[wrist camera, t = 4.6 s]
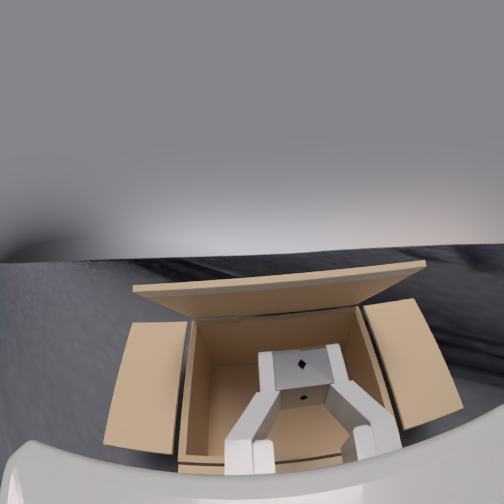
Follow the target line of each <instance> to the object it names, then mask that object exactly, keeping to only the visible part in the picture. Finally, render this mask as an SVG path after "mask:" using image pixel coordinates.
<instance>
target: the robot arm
mask: <svg viewBox="0 0 504 504" xmlns="http://www.w3.org/2000/svg"><path fill="white" fill-rule="evenodd" d="M258 365H259V382H260V392H256V393H255V395H254V397H253V398H252V400H251V401H250V403H249V404H248V406H247V408H246V409H245V411H244V412H243V414H242V415H241V417H240V418H239V420H238V421H237V423H236V424H235V426H234V427H233V429H232V430H231V432H230V433H229V435H228V436H227V438H226V439H225V466H224V475H205V474H187V473H175V472H166V471H157V470H150V469H143V468H137V467H131V466H125V465H120V464H115V463H110V462H106V461H102V460H97V459H93V458H89V457H86V456H82V455H78V454H75V453H71V452H68V451H65V450H62V449H59V448H56V447H53V446H50V445H47V444H44V443H41V442H39V441H36V440H29V441H28V442H26V443H25V444H23V445H22V446H21V447H20V448H19V449H18V450H17V451H15V452H14V453H13V454H12V455H11V456H10V458H9V460H8V462H7V464H6V467H5V470H4V474H3V478H2V483H1V488H0V504H504V403H503V404H501V405H500V406H498V407H496V408H494V409H492V410H491V411H489V412H487V413H485V414H483V415H481V416H479V417H477V418H475V419H473V420H471V421H469V422H467V423H465V424H463V425H460V426H458V427H456V428H454V429H452V430H449V431H447V432H444V433H442V434H440V435H437V436H435V437H432V438H429V439H427V440H424V441H421V442H419V443H416V444H413V445H410V446H407V447H404V448H402V445H401V441H400V437H399V433H398V429H397V426H396V422H395V418H394V416H393V415H391V414H390V413H389V412H388V411H387V410H386V409H385V408H383V407H382V406H381V405H380V404H379V403H378V402H377V401H376V400H374V399H373V398H372V397H371V396H370V395H369V394H368V393H366V392H365V391H364V390H363V389H362V388H361V387H360V386H359V385H358V384H356V383H355V382H354V381H353V380H351V381H349V378H348V374H347V371H346V367H345V363H344V359H343V356H342V352H341V348H340V346H339V344H338V343H336V344H329V345H321V346H314V347H307V348H299V349H292V350H282V351H268V352H258ZM323 404H324V406H325V407H326V408H327V409H328V411H329V412H330V413H331V414H332V415H333V416H334V417H335V419H336V420H337V421H338V422H339V423H340V424H341V425H342V426H343V427H344V429H345V430H346V431H347V432H348V433H349V434H350V435H349V437H348V438H347V439H346V441H345V442H344V443H343V445H342V446H341V447H340V449H341V455H342V461H343V464H338V465H333V466H327V467H321V468H315V469H308V470H300V471H292V472H282V473H276V471H275V460H274V449H273V442H272V441H270V440H269V439H267V440H265V439H266V437H267V435H268V434H269V432H270V430H271V428H272V426H273V424H274V423H275V421H276V419H277V417H278V415H279V413H280V411H281V410H283V409H291V408H298V407H306V406H315V405H323Z"/></svg>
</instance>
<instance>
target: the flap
mask: <svg viewBox="0 0 504 504" xmlns="http://www.w3.org/2000/svg"><path fill="white" fill-rule="evenodd" d="M425 267H426V262H425V260H422V261H413V262H405V263H396V264H387V265H378V266H369V267H359V268H350V269H340V270H330V271H319V272H309V273H298V274H286V275H275V276H263V277H251V278H238V279H225V280H211V281H197V282H182V283H166V284H149V285H133V292H134V293H135V294H138V295H140V296H142V297H145V298H147V299H150V300H152V301H154V302H156V303H159V304H161V305H163V306H165V307H168V308H170V309H172V310H175V311H177V312H179V313H182V314H184V315H187V316H189V317H192V318H194V319H198V318H217V317H234V316H248V315H261V314H273V313H284V312H295V311H305V310H314V309H323V308H331V307H340V306H348V305H355V304H358V303H360V302H362V301H364V300H366V299H368V298H370V297H371V296H373V295H375V294H377V293H379V292H381V291H383V290H385V289H387V288H388V287H390V286H392V285H394V284H396V283H398V282H399V281H401V280H403V279H405V278H407V277H408V276H410V275H412V274H414V273H416V272H418V271H420V270H421V269H423V268H425Z"/></svg>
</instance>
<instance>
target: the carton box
mask: <svg viewBox="0 0 504 504" xmlns="http://www.w3.org/2000/svg"><path fill="white" fill-rule="evenodd" d="M363 310H364V312H365V315H366V318H367V320H368V323H369V326H370V328H371V331H372V334H373V336H374V339H375V342H376V345H377V348H378V351H379V353H380V356H381V359H382V362H383V365H384V368H385V371H386V374H387V377H388V380H389V384H390V387H391V390H392V393H393V396H394V400H395V403H396V406H397V410H398V413H399V417H400V420H401V424H402V427H403V431H405V430H408V429H411V428H414V427H417V426H420V425H423V424H426V423H429V422H431V421H434V420H437V419H439V418H442V417H445V416H447V415H450V414H452V413H454V412H457V411H459V410H461V409H463V408H464V407H463V405H462V402H461V399H460V397H459V394H458V392H457V389H456V387H455V384H454V382H453V379H452V377H451V375H450V372H449V370H448V368H447V365H446V363H445V361H444V358H443V356H442V354H441V352H440V350H439V348H438V345H437V343H436V341H435V339H434V337H433V335H432V333H431V331H430V329H429V327H428V325H427V323H426V321H425V319H424V317H423V315H422V313H421V311H420V309H419V307H418V305H417V303H416V302H415V300H414V298H412V299H406V300H400V301H394V302H388V303H381V304H374V305H367V306H364V307H363ZM187 328H188V322H158V323H132V327H131V330H130V334H129V337H128V340H127V344H126V347H125V351H124V355H123V358H122V362H121V366H120V370H119V374H118V378H117V382H116V386H115V390H114V394H113V398H112V403H111V407H110V412H109V417H108V421H107V426H106V432H105V437H104V442H103V444H104V445H107V446H112V447H117V448H123V449H128V450H135V451H142V452H149V453H157V454H167V455H173V449H174V438H175V427H176V417H177V407H178V398H179V389H180V380H181V372H182V364H183V357H184V349H185V342H186V335H187ZM336 343H338V344H339V346H340V348H341V352H342V356H343V359H344V363H345V367H346V371H347V374H348V378H349V381H351V380H353V381H354V382H355V383H356V384H358V385H359V386H360V387H361V388H362V389H363V390H364V391H365V392H366V393H368V394H369V395H370V396H371V397H372V398H373V399H374V400H376V401H377V402H378V403H379V404H380V405H381V406H382V407H383V408H385V409H386V410H387V411H388V412H389V413H390V414H391V415H393V416H394V413H393V409H392V406H391V402H390V399H389V396H388V392H387V389H386V386H385V382H384V379H383V376H382V373H381V370H380V367H379V364H378V361H377V358H376V355H375V352H374V349H373V346H372V343H371V340H370V337H369V334H368V332H367V329H366V326H365V323H364V320H363V318H362V315H361V312H360V310H359V307H358V306H357V307H349V308H341V309H333V310H325V311H316V312H307V313H297V314H287V315H276V316H264V317H251V318H237V319H221V320H202V321H192V327H191V335H190V342H189V350H188V358H187V367H186V375H185V384H184V394H183V404H182V414H181V425H180V437H179V449H178V462H179V463H181V464H182V465H178V473H187V474H205V475H224V466H225V439H226V438H227V436H228V435H229V433H230V432H231V430H232V429H233V427H234V426H235V424H236V423H237V421H238V420H239V418H240V417H241V415H242V414H243V412H244V411H245V409H246V408H247V406H248V404H249V403H250V401H251V400H252V398H253V397H254V395H255V393H256V392H260V382H259V365H258V352H268V351H282V350H292V349H299V348H307V347H314V346H321V345H329V344H336ZM394 418H395V416H394ZM395 422H396V420H395ZM396 426H397V424H396ZM397 429H398V427H397ZM398 433H399V431H398ZM349 435H350V434H349V433H348V432H347V431H346V430H345V429H344V427H343V426H342V425H341V424H340V423H339V422H338V421H337V420H336V419H335V417H334V416H333V415H332V414H331V413H330V412H329V411H328V409H327V408H326V407H325V406H324V404H323V405H315V406H306V407H298V408H291V409H283V410H281V411H280V413H279V415H278V417H277V419H276V421H275V423H274V424H273V426H272V428H271V430H270V432H269V434H268V435H267V437H266V439H265V440H267V439H269V440H270V441H272V442H273V449H274V460H275V471H276V473H282V472H292V471H300V470H308V469H315V468H321V467H327V466H333V465H338V464H343V461H342V455H341V449H340V447H341V446H342V445H343V443H344V442H345V441H346V439H347V438H348V437H349ZM399 437H400V435H399ZM401 445H402V444H401Z"/></svg>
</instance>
